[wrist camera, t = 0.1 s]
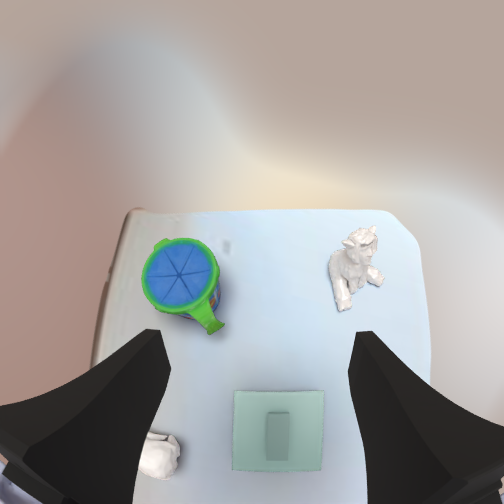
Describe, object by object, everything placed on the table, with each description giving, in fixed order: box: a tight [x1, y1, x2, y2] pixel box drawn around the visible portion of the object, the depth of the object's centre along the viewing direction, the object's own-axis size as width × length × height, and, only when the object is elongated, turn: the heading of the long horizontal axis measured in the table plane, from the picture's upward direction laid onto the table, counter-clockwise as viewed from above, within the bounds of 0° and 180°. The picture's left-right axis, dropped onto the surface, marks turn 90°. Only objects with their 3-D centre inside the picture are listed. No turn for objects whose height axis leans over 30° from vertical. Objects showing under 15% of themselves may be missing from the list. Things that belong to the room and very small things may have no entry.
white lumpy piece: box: [138, 432, 180, 480], centre depth 31 cm, size 6×8×12 cm
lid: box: [232, 390, 324, 472], centre depth 29 cm, size 11×11×5 cm
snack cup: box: [141, 238, 225, 335], centre depth 40 cm, size 16×10×10 cm
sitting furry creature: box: [328, 226, 385, 312], centre depth 39 cm, size 10×9×12 cm
